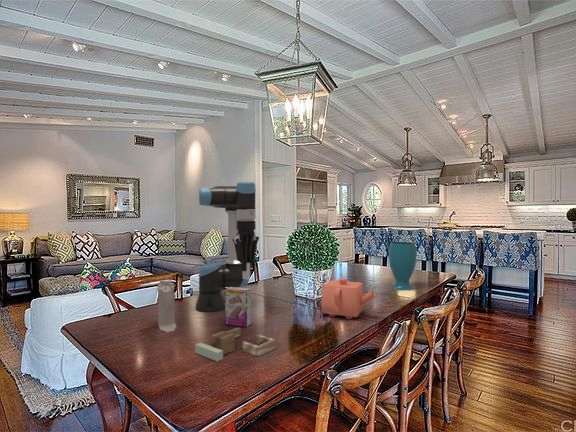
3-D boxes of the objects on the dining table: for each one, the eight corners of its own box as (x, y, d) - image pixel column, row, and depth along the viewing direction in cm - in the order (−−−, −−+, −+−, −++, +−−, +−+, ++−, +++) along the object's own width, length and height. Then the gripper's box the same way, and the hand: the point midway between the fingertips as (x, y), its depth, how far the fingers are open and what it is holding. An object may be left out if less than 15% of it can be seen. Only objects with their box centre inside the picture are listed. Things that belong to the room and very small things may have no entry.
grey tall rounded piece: (161, 333, 147) (160, 285, 146) (157, 323, 159) (156, 280, 159) (178, 330, 150) (178, 284, 150) (173, 321, 162) (173, 278, 162)
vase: (420, 291, 222) (420, 244, 221) (393, 291, 222) (393, 244, 221) (410, 285, 239) (411, 241, 238) (385, 285, 239) (385, 241, 239)
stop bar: (195, 352, 126) (195, 344, 126) (200, 350, 128) (200, 342, 128) (217, 361, 119) (217, 352, 119) (222, 359, 121) (222, 350, 121)
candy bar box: (224, 325, 157) (224, 288, 156) (229, 321, 161) (229, 286, 161) (246, 327, 153) (246, 290, 153) (251, 324, 158) (251, 288, 157)
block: (211, 351, 128) (211, 335, 127) (223, 346, 132) (223, 330, 132) (222, 355, 124) (222, 338, 124) (234, 350, 129) (234, 334, 129)
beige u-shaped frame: (217, 342, 136) (217, 335, 136) (237, 334, 144) (237, 327, 144) (258, 356, 123) (258, 348, 123) (278, 346, 131) (277, 338, 131)
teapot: (379, 312, 176) (379, 277, 175) (370, 325, 155) (370, 286, 155) (332, 306, 186) (332, 273, 186) (318, 318, 166) (318, 281, 165)
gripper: (240, 220, 131) (241, 282, 132) (263, 219, 142) (264, 277, 142) (227, 220, 136) (227, 280, 137) (250, 219, 146) (250, 275, 147)
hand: (246, 278), depth 139 cm, fingers closed
